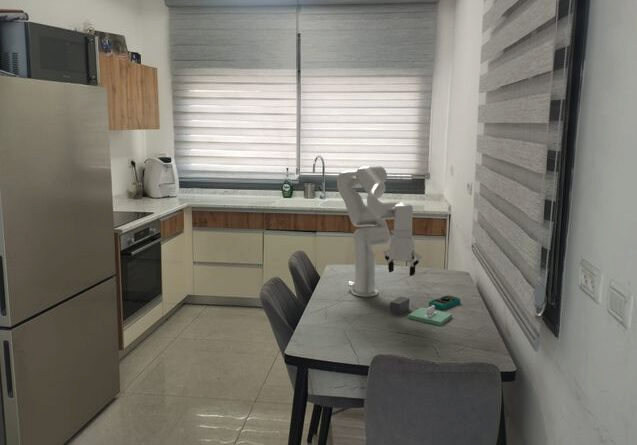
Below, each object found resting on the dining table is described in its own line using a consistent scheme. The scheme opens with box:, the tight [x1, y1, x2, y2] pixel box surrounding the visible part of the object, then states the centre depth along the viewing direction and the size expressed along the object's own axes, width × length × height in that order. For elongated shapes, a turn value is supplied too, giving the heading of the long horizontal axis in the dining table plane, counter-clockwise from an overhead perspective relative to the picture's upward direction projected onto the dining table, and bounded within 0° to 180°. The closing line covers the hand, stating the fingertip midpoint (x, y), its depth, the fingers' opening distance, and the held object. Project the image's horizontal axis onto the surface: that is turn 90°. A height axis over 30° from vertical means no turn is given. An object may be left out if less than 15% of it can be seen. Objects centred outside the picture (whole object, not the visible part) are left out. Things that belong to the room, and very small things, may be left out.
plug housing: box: [389, 296, 410, 316], centre depth 232 cm, size 4×9×5 cm, turn 145°
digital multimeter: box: [428, 294, 461, 311], centre depth 241 cm, size 7×15×3 cm, turn 133°
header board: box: [407, 305, 453, 326], centre depth 224 cm, size 14×12×4 cm
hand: (401, 273), depth 229 cm, fingers open, 9 cm apart
